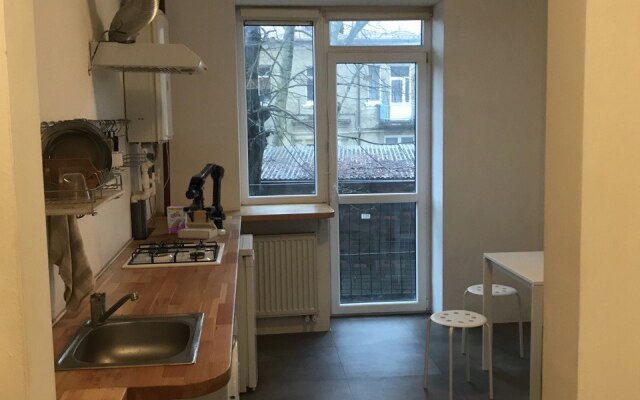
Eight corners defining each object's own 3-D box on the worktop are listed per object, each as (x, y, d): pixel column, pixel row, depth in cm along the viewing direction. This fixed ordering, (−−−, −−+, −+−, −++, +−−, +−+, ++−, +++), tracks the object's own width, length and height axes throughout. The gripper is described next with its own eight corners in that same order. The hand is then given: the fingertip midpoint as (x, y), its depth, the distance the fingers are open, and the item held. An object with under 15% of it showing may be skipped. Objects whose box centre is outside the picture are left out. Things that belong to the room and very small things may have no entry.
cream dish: (216, 233, 406) (216, 229, 406) (227, 233, 404) (226, 229, 404) (211, 235, 400) (211, 230, 399) (222, 235, 398) (222, 231, 397)
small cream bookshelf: (187, 234, 404) (187, 226, 403) (218, 235, 398) (217, 227, 397) (177, 238, 392) (177, 230, 392) (209, 238, 387) (208, 230, 386)
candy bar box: (167, 234, 407) (166, 207, 405) (170, 232, 412) (169, 206, 410) (185, 234, 406) (184, 207, 404) (188, 232, 411) (186, 206, 409)
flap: (188, 227, 403) (188, 226, 403) (216, 228, 397) (216, 227, 398) (184, 223, 398) (184, 222, 399) (213, 223, 393) (213, 223, 393)
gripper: (177, 198, 390) (179, 225, 392) (207, 199, 385) (208, 226, 387) (186, 196, 401) (188, 222, 403) (215, 196, 396) (216, 222, 398)
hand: (199, 223), depth 397 cm, fingers open, 9 cm apart
